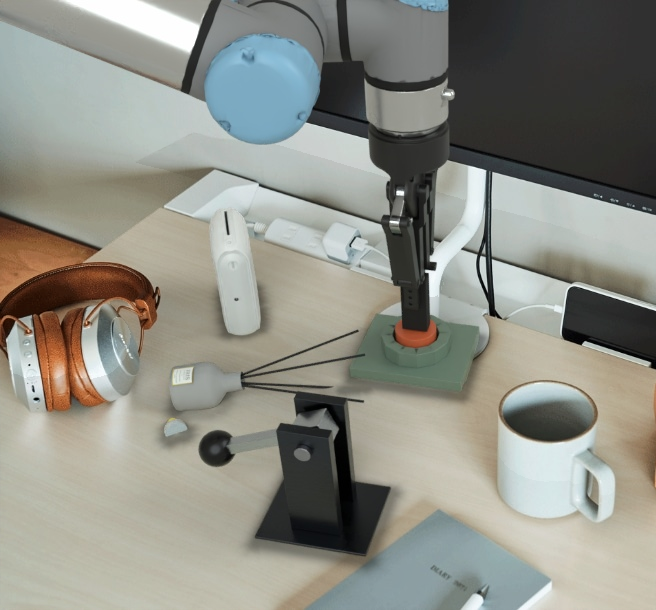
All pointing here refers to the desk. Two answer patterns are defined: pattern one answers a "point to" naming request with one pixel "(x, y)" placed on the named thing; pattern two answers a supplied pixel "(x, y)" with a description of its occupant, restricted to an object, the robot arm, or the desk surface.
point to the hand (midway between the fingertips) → (416, 325)
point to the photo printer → (234, 271)
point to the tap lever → (255, 438)
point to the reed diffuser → (224, 384)
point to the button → (415, 336)
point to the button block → (417, 355)
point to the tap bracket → (322, 486)
